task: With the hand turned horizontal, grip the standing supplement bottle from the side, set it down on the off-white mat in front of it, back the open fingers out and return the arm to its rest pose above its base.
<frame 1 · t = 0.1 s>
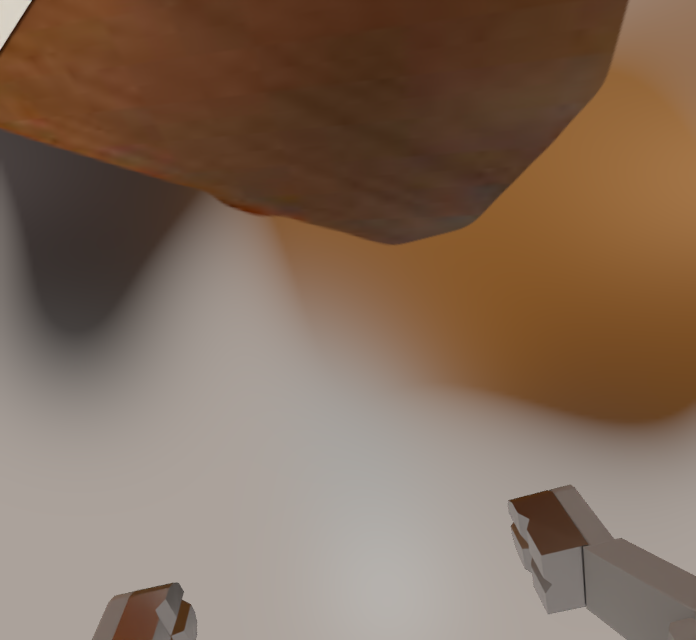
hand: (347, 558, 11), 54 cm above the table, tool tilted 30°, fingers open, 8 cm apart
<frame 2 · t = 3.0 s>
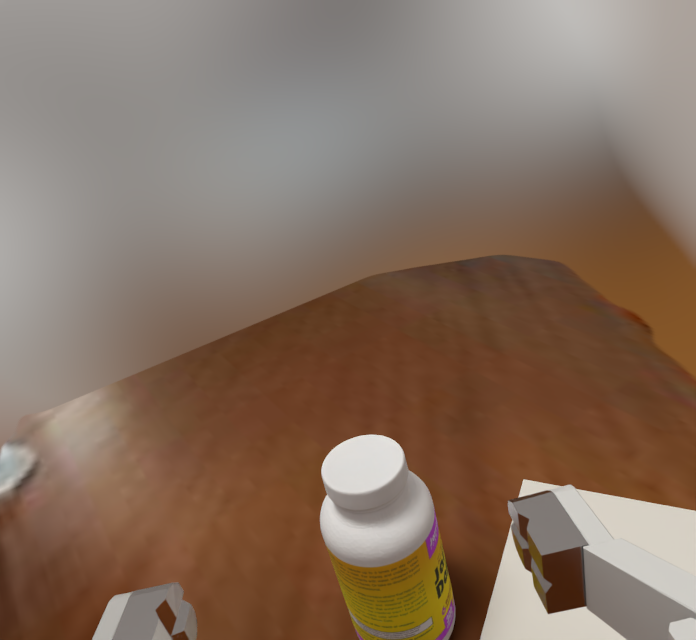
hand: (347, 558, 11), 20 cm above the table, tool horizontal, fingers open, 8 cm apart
supplement bottle: (406, 617, 30), on the table
off-white mat: (603, 602, 28), on the table
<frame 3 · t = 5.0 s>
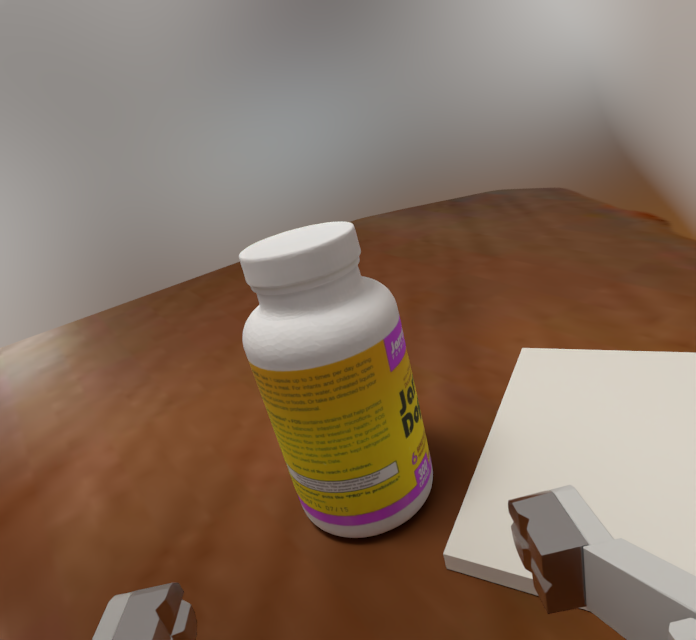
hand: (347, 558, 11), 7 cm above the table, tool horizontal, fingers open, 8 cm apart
supplement bottle: (369, 491, 23), on the table
off-white mat: (630, 454, 20), on the table
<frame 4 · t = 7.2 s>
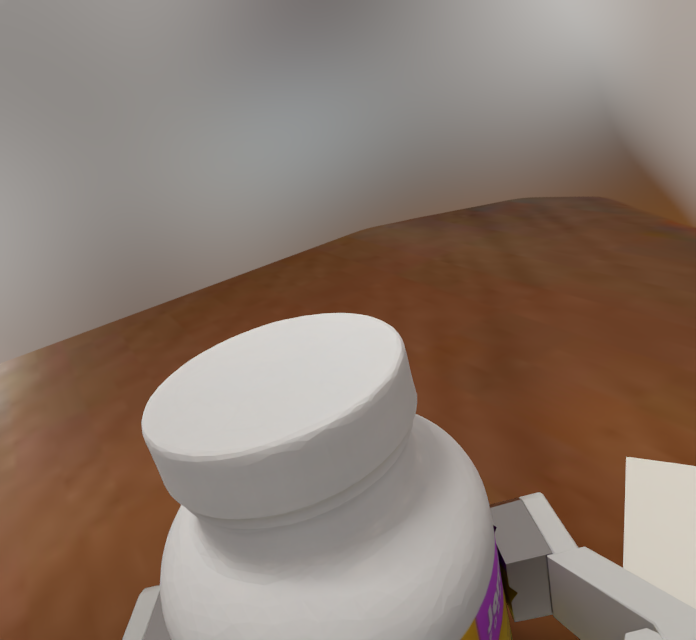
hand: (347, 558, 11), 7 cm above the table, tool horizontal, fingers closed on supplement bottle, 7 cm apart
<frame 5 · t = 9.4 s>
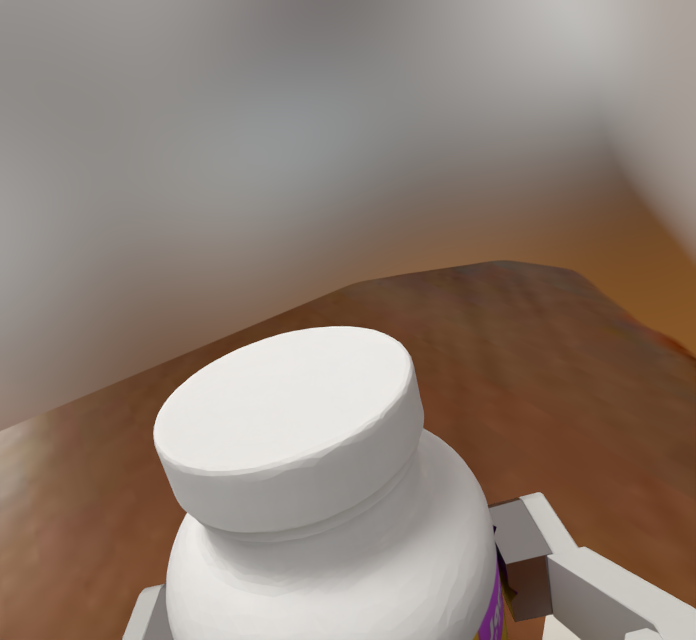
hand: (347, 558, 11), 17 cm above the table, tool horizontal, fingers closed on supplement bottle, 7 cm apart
when the fingers open (9 cm above the table, at t = 11.9 s): supplement bottle stays where it is, resting on off-white mat.
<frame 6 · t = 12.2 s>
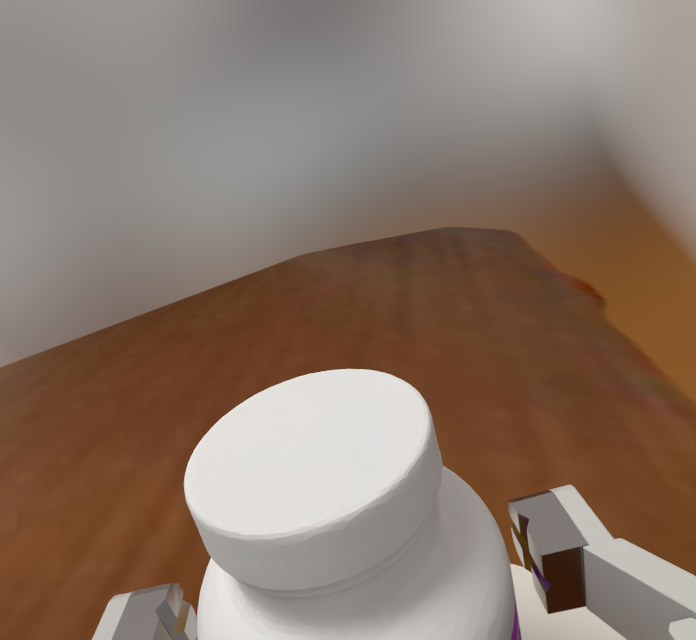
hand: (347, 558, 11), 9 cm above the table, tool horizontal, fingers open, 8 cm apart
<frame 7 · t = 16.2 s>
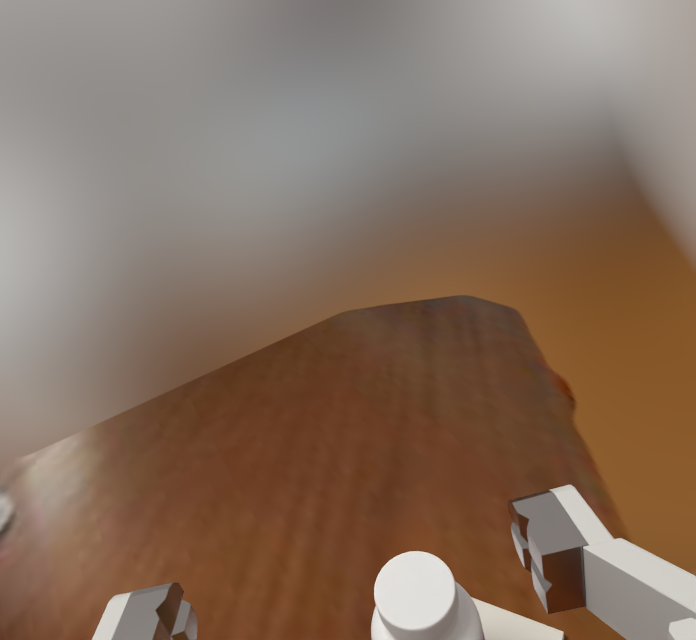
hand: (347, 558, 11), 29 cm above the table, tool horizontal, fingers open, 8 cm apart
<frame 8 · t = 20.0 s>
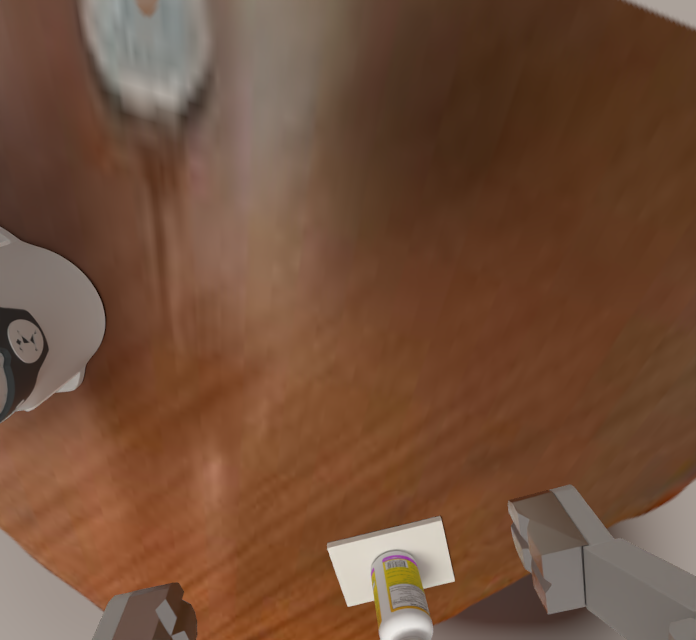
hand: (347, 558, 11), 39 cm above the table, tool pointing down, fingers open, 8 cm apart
supplement bottle: (393, 564, 64), point 1 cm above the table, touching off-white mat
off-white mat: (392, 560, 65), on the table
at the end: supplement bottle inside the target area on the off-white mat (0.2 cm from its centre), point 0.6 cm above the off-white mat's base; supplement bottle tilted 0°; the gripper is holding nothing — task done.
